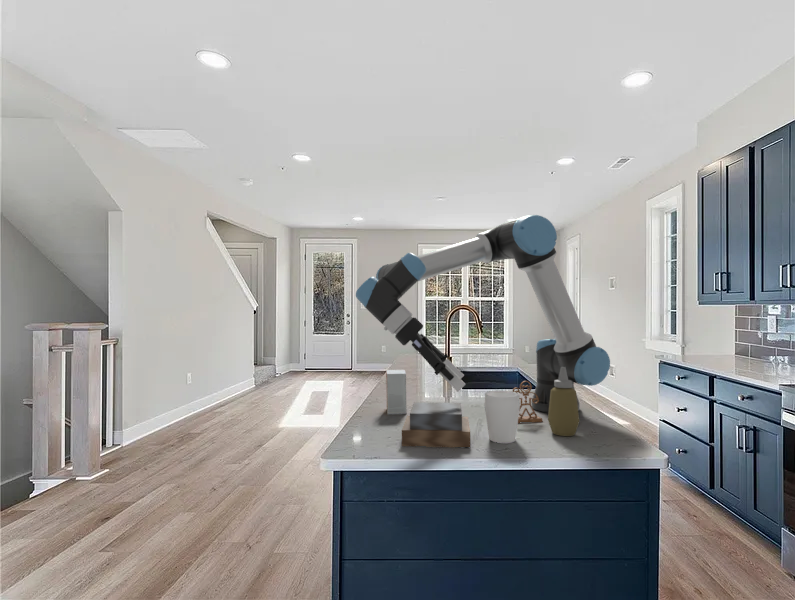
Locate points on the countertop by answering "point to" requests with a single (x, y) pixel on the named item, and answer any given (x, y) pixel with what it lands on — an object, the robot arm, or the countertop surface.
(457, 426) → the stepped display pedestal
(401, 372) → the small box
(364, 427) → the countertop surface
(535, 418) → the gingerbread man figurine
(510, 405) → the cup
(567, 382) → the squeeze bottle
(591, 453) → the countertop surface
